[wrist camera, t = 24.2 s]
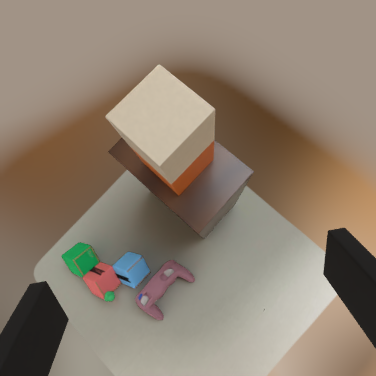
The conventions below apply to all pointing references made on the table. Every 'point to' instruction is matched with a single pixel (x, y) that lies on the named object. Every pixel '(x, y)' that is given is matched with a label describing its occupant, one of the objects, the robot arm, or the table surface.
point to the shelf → (194, 186)
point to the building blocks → (105, 270)
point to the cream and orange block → (167, 128)
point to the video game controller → (160, 287)
